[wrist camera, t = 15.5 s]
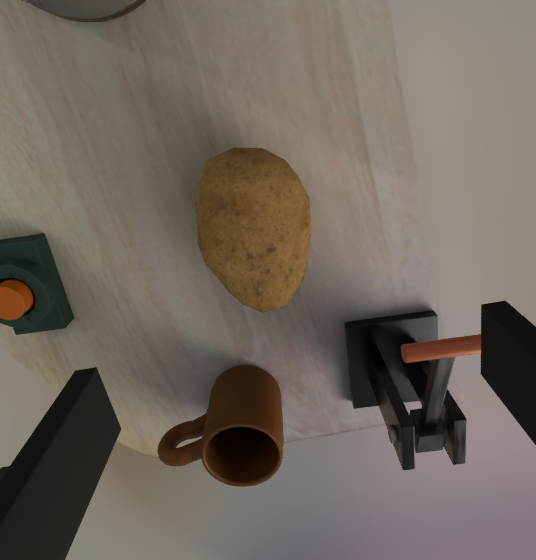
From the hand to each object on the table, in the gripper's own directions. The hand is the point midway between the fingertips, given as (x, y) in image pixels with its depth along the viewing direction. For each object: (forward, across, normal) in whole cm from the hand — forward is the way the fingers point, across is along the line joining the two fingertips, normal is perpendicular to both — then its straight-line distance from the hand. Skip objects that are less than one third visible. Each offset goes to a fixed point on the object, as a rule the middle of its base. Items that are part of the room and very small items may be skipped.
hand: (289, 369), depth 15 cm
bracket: (+26, +9, -19) cm, 34 cm away
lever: (+15, +9, -14) cm, 22 cm away
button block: (+27, -24, -4) cm, 36 cm away
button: (+23, -24, -4) cm, 34 cm away
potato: (+27, -2, -2) cm, 27 cm away
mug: (+27, -9, -20) cm, 35 cm away
